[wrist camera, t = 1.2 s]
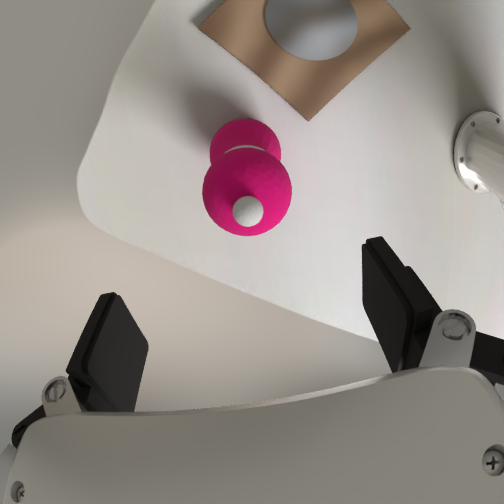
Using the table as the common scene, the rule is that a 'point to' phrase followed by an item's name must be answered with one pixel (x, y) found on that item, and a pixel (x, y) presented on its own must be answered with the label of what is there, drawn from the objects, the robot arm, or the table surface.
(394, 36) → the walnut board
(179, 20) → the table surface
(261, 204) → the pepper mill
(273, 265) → the table surface
